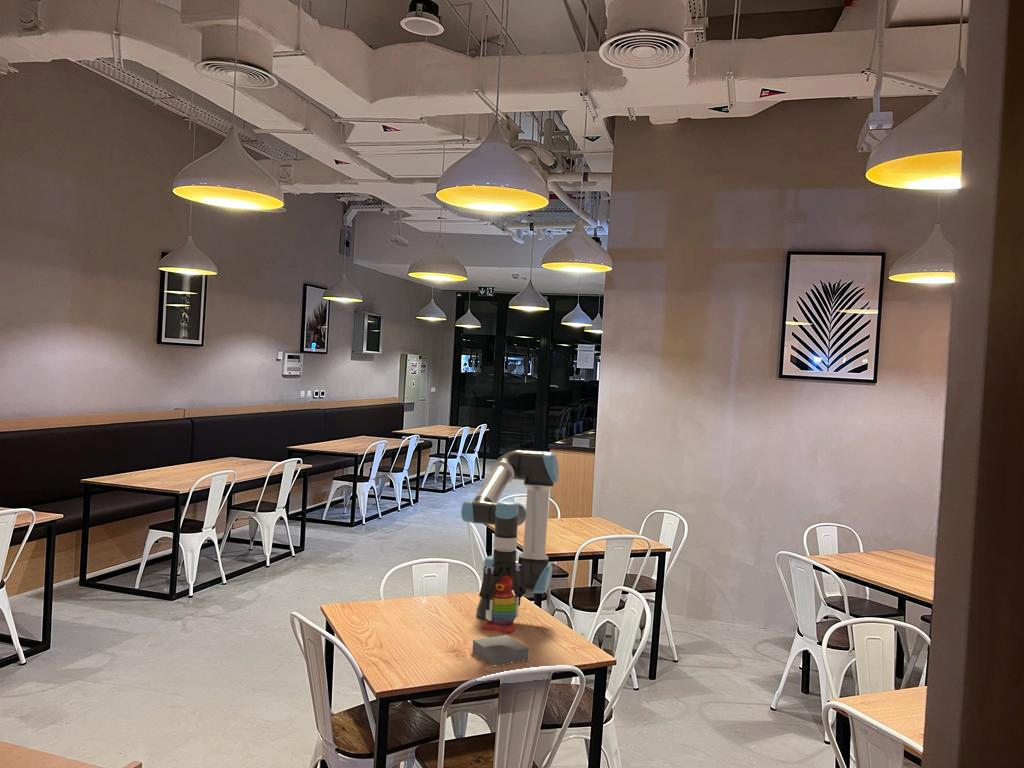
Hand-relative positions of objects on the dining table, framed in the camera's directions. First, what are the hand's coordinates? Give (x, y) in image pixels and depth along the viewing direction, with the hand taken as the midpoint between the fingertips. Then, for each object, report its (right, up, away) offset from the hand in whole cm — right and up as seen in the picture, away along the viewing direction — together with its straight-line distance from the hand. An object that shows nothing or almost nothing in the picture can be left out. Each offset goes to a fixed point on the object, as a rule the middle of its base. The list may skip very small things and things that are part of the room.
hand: (501, 617), depth 237 cm
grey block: (-1, -13, 0) cm, 13 cm away
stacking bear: (0, -4, 0) cm, 4 cm away
